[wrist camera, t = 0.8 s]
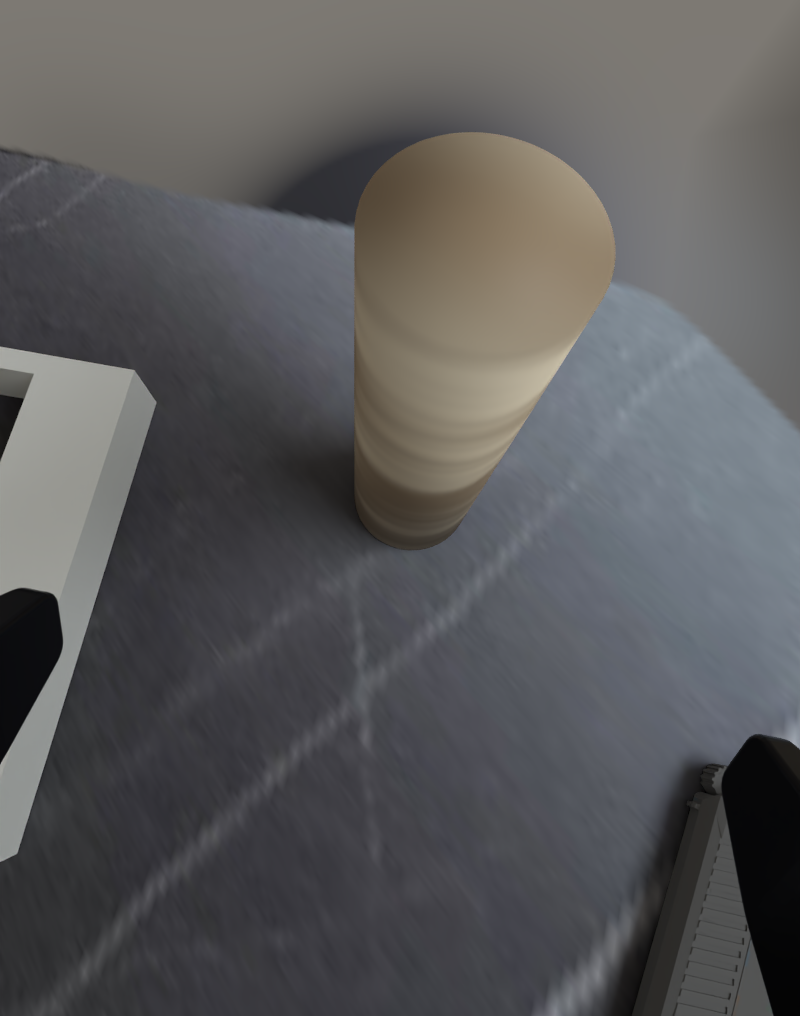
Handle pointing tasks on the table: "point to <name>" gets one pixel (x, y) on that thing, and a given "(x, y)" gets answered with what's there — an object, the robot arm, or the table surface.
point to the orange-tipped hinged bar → (703, 925)
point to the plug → (462, 318)
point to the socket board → (61, 523)
